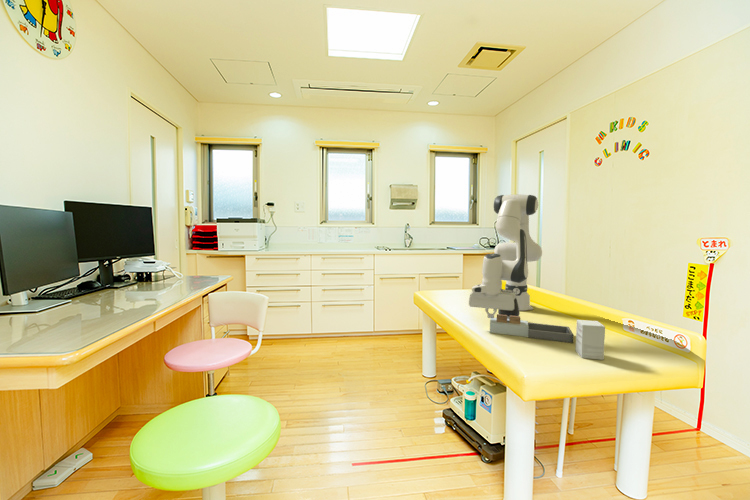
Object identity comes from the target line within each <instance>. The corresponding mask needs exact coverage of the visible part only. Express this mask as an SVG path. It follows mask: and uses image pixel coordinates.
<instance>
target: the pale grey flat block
mask: <svg viewBox="0 0 750 500" xmlns="http://www.w3.org/2000/svg"><path fill="white" fill-rule="evenodd" d="M528 323H529V322H528V320H522V319H520V324H512V323H509V319H507V323H503V322H497V317H494V318H490V320H489V333H492V334H500V335H509V336H517V337H523V338H524V337H525V338H528V329H529V327H528Z"/></svg>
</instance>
